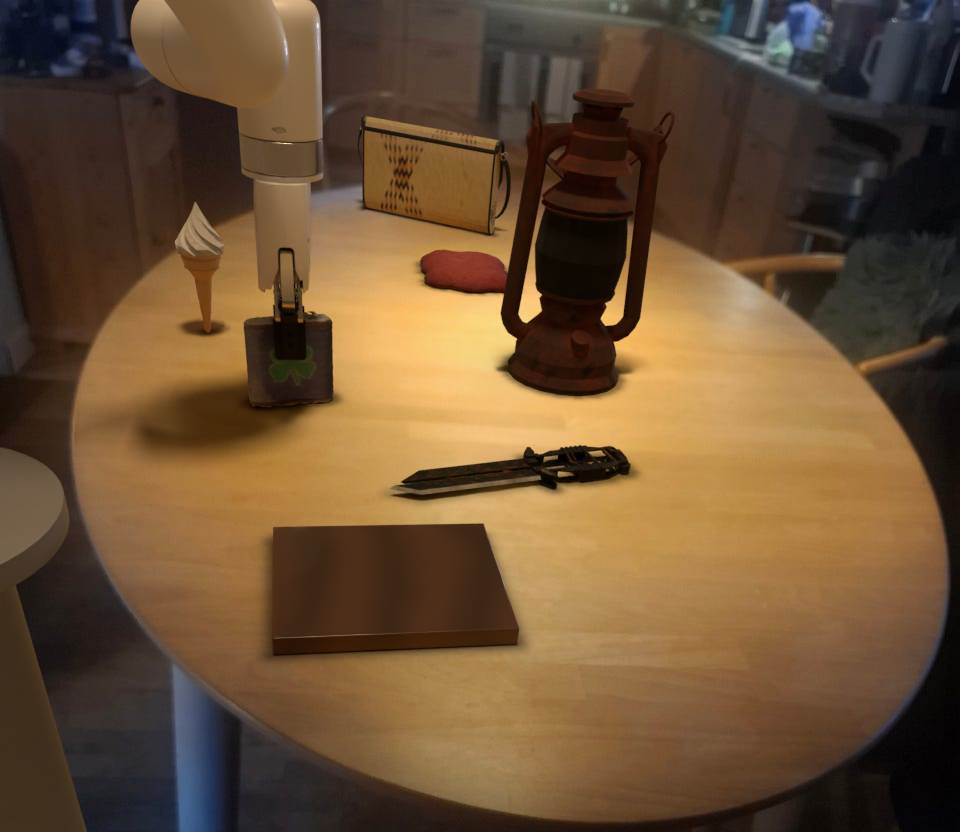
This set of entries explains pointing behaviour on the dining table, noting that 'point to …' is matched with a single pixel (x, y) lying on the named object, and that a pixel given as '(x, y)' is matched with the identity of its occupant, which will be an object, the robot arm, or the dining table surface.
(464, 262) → the patty
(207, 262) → the ice cream cone
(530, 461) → the knife
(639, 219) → the lantern
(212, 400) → the dining table surface
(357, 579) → the serving board
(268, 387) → the flask
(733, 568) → the dining table surface
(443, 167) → the clutch purse
